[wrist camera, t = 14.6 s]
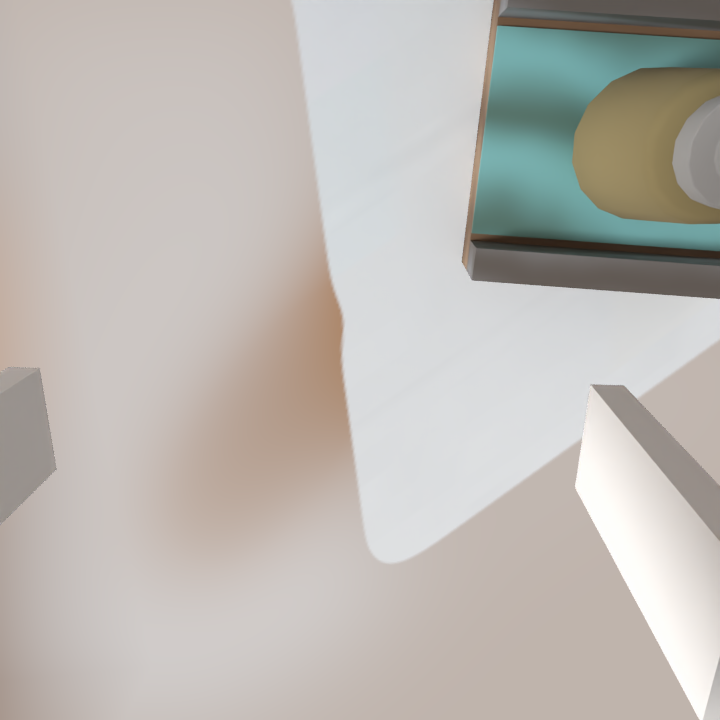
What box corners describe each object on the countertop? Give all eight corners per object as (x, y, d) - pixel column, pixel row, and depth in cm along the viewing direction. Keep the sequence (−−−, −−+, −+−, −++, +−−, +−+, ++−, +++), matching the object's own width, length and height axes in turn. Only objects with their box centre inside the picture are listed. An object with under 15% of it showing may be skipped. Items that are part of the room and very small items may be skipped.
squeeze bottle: (711, 85, 37) (983, 46, 20) (665, 222, 40) (868, 290, 23) (577, 60, 37) (735, -1, 20) (540, 199, 39) (651, 250, 23)
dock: (495, -12, 38) (512, -36, 33) (773, 6, 38) (840, -16, 32) (461, 261, 44) (471, 280, 39) (702, 279, 44) (748, 300, 38)
